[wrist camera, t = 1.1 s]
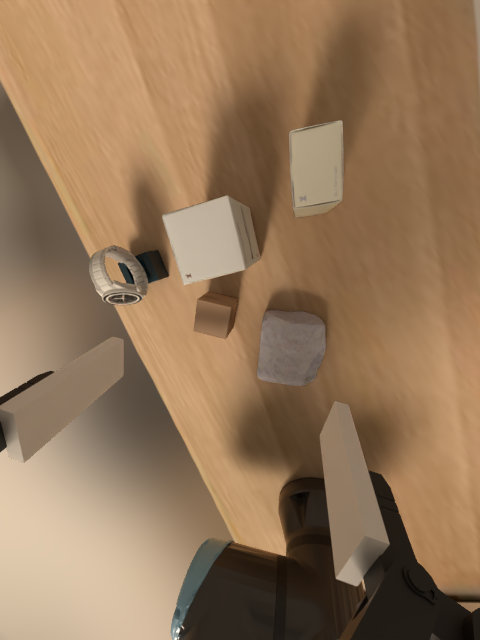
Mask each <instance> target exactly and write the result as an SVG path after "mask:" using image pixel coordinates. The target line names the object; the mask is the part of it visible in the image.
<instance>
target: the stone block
mask: <svg viewBox="0 0 480 640" xmlns="http://www.w3.org/2000/svg"><path fill="white" fill-rule="evenodd" d="M325 329H326V327H325V324H324V322H323V321H322V320H321V319H320V318H319V317H318V316H317V315H314V314H310V313H307V312H304V311H298V312H295V311H292V312H285V311H278V310H268V311H266V312H265V314H264V317H263V321H262V329H261V338H260V352H259V362H258V369H257V377H258V378H259V379H261V380H263V381H266V382H267V381H268V382H274V383H280V384H285V385H291V386H305V385H306V384H307V383H311V382H312V381H313V380H314V379H315V378H316V375H317V369H318V368H319V367H320V365H321V362H322V360H323V356H324V352H325V349H326V341H325V339H326V336H325Z"/></svg>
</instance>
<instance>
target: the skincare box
mask: <svg viewBox="0 0 480 640" xmlns="http://www.w3.org/2000/svg"><path fill="white" fill-rule="evenodd" d="M289 149H290V172H291V187H292V200H293V210H294V215H295V218H297V217H306V216H313V215H320V214H325V213H328V212H329V211H330V210H331V209H333V208H334V207H335V206H336V205H337V204H339V203H340V202H341V201H342V198H343V122H342V121H341V120H340V121H334V122H329V123H324V124H319V125H314V126H309V127H304V128H300V129H296V130H292V131H290V133H289Z"/></svg>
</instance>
